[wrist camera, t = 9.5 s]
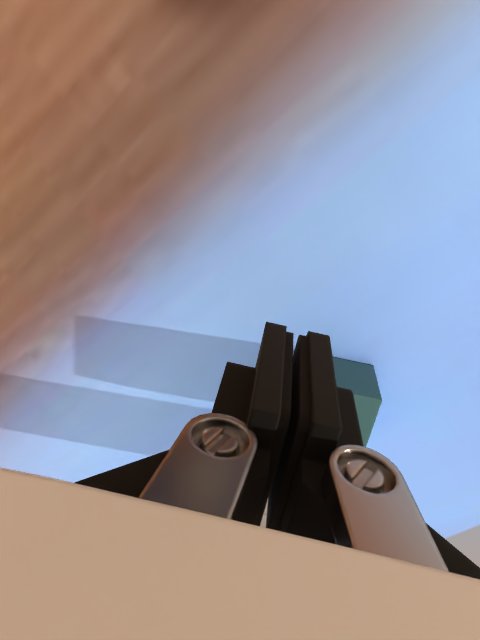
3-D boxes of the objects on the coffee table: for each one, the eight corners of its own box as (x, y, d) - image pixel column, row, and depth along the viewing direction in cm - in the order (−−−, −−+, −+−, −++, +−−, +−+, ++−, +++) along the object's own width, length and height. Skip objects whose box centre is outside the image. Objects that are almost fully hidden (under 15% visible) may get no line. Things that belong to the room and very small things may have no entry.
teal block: (284, 410, 39) (280, 448, 34) (299, 349, 36) (297, 381, 32) (354, 425, 38) (359, 466, 34) (373, 365, 36) (382, 400, 31)
